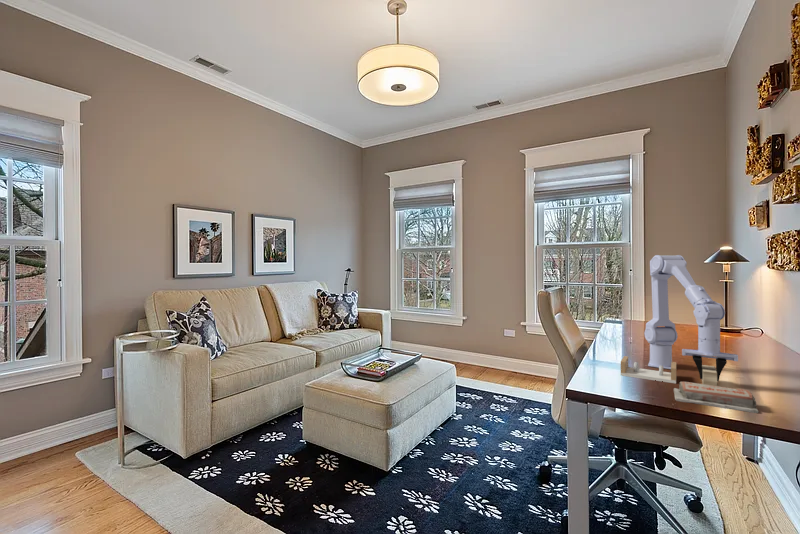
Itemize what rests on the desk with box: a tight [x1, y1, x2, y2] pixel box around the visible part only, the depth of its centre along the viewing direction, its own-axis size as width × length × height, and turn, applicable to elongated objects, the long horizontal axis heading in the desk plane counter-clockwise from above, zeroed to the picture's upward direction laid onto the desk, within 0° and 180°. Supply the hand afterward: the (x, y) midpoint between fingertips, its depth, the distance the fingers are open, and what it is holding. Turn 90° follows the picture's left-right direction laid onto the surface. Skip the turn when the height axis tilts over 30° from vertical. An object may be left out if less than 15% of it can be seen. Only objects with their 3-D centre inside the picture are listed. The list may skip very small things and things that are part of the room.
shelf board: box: [701, 364, 718, 386], centre depth 127 cm, size 11×4×5 cm, turn 144°
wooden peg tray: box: [620, 355, 677, 384], centre depth 137 cm, size 11×16×5 cm
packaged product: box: [673, 381, 759, 414], centre depth 110 cm, size 18×5×10 cm
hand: (709, 379), depth 127 cm, fingers closed on shelf board, 3 cm apart
